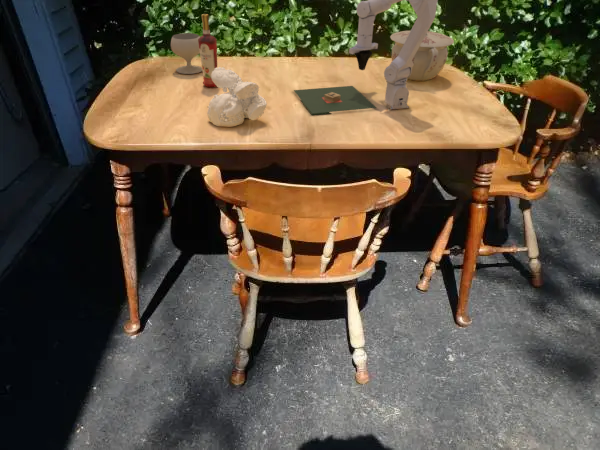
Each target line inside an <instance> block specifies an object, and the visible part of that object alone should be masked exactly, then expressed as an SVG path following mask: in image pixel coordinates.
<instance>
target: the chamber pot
mask: <svg viewBox="0 0 600 450" xmlns="http://www.w3.org/2000/svg"><path fill="white" fill-rule="evenodd" d="M410 31H411V29H410V30H402V31H396V32H393V33H392V34H391V35H390V36H389V38H390V40H391V41H393V42H395V43H394V45H392V47H391V52H390V53H391V55H390V56H391V62H392V61H393V60H394V59H395V58H396V57H397V56H398V55H399V53H400V51H401V49H402V47H403V45H404V43H405V41H406V39H407V37H408V35H409V33H410ZM454 43H455V40H454V39H453V38H452V37H451V36H448V35H446V34H443V33H440V32H436V31H431V30H428V32H427V34H426V35H425V37H424V39H423V41H422V43H421V45H420V47H419V48H418V50H417V52H416V54H415V56H414V58H413V60H412V62H413V64H414V65H413V67H412V72H411V75H410V77H409V78H407V80H410V81H416V82H423V81H429V80H433V79H434V78H436V77H438V75H439V74H440V72H441V71H442V70H443V69H444V67H445V65H446V62H447V61H448V55H449V50H448V47H449V46H451V45H453V44H454Z"/></svg>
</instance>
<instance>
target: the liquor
mask: <svg viewBox="0 0 600 450" xmlns="http://www.w3.org/2000/svg"><path fill="white" fill-rule="evenodd" d="M201 21H202V35H201V36H200V38H199V39H198V43H199V51H200V54H199V57H200V62H201V64H200V65H201V67H202V71H201V72H202V78H203V81H202V84H203V85H204V86H205V87H207V88H216V87H217V86H216V85H215V83H214V82H213V81H212V78H211V74H212V71H214V69H215V68H216V67H217V68H218V45H217V43H218V42H217V38H216V37H215V36H213V35H211V30H210V23H209V22H210V17H209V14H208V13H203V14H201Z"/></svg>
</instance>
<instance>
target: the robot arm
mask: <svg viewBox="0 0 600 450" xmlns="http://www.w3.org/2000/svg"><path fill="white" fill-rule="evenodd" d="M400 2H403V0H361V1H360V2H359V3H357V5H356V14H357V16H358V27H357V38H356V43H355V45H354V46H353V47H349V50H348V54H350V55H355V57H356V60H357V66H358V70H360V71H365V69H366V67H367V64H368V62H369V60H370V58H371V56H372V55H373V51H372V50H378V47H379V43H377V42H373V33H374V22H375V20H376V16H377V15H378V14H381V13H384V12H385V11H388V10H390V9H391V8H392V5H394V4H396V3H400ZM405 2H409V4H410V6H411V8H412V9H413V11H414V12H415V14H416V17H417V18H416V19H415V21H414V24H413V25H412V27H411V29H410V30H411V31H410V30H409V31H410V33H409V35H408V37H407V39H406V41H405V43H404V45H403V47H402V49H401V51H400V53H399V55H398V56H397V57H396V58H395V59H394V60H393V61H392V60H391V62H390V64H389V65H388V66H386V67H385V69H384V72H383V76H384V80H385V81H386V88H385V95H384V103H385V105H388V106H390V107H389V108H388V109H389V110H400V109H409V106H408V101H409V94H410V90H409V89H408V87H407V82H408V79H407V78H409V77H410V75H411V72H412V67H413V65H414V64H413V62H412V60H413V58H414V56H415V54H416V52H417V50H418V48H419V47H420V45H421V43H422V41H423V39H424V37H425V35H426V34H427V32H428V31H430V28H431V26H432V24H433V22H434V20H435V18H436V16H437V15H436V14H437V7H438V5H437V4H438V2H439V0H405Z"/></svg>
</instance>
